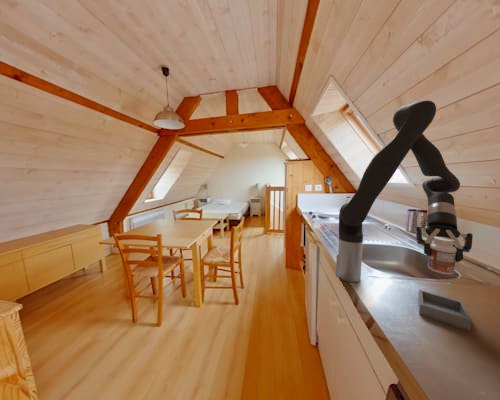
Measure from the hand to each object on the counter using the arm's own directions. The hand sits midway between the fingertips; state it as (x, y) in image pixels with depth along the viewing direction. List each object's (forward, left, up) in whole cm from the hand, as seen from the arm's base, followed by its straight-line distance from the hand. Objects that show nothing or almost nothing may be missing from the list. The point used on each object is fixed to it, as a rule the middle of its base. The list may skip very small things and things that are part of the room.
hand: (442, 257), depth 60 cm
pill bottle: (0, +2, -5) cm, 5 cm away
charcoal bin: (+1, -3, -18) cm, 18 cm away
